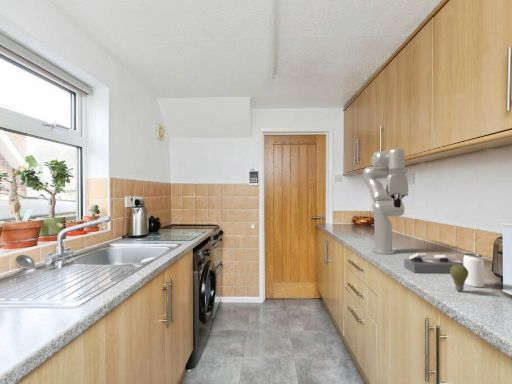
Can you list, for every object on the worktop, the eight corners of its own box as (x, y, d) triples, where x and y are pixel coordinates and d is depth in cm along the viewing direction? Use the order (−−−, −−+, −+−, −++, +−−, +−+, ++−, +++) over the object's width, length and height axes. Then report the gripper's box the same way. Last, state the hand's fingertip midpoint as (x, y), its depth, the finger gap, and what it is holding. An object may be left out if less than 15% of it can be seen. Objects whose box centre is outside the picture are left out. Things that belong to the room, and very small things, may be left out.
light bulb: (446, 288, 106) (446, 262, 106) (460, 288, 107) (459, 262, 107) (458, 294, 101) (457, 266, 101) (472, 293, 101) (472, 266, 101)
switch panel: (404, 267, 137) (404, 256, 137) (454, 267, 136) (454, 255, 136) (414, 273, 127) (414, 261, 127) (469, 273, 126) (469, 261, 126)
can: (461, 284, 111) (461, 254, 111) (466, 281, 115) (465, 252, 115) (482, 289, 106) (481, 257, 106) (486, 285, 110) (485, 254, 110)
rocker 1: (409, 259, 136) (408, 256, 136) (417, 259, 136) (417, 256, 136) (417, 255, 128) (417, 252, 128) (426, 255, 127) (426, 252, 128)
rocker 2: (434, 257, 135) (434, 255, 136) (443, 257, 135) (442, 255, 136) (445, 257, 127) (444, 254, 127) (454, 257, 126) (453, 254, 127)
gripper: (407, 172, 149) (408, 206, 149) (379, 173, 150) (380, 207, 150) (415, 171, 142) (415, 207, 142) (385, 172, 143) (385, 208, 143)
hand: (397, 207), depth 146 cm, fingers closed
